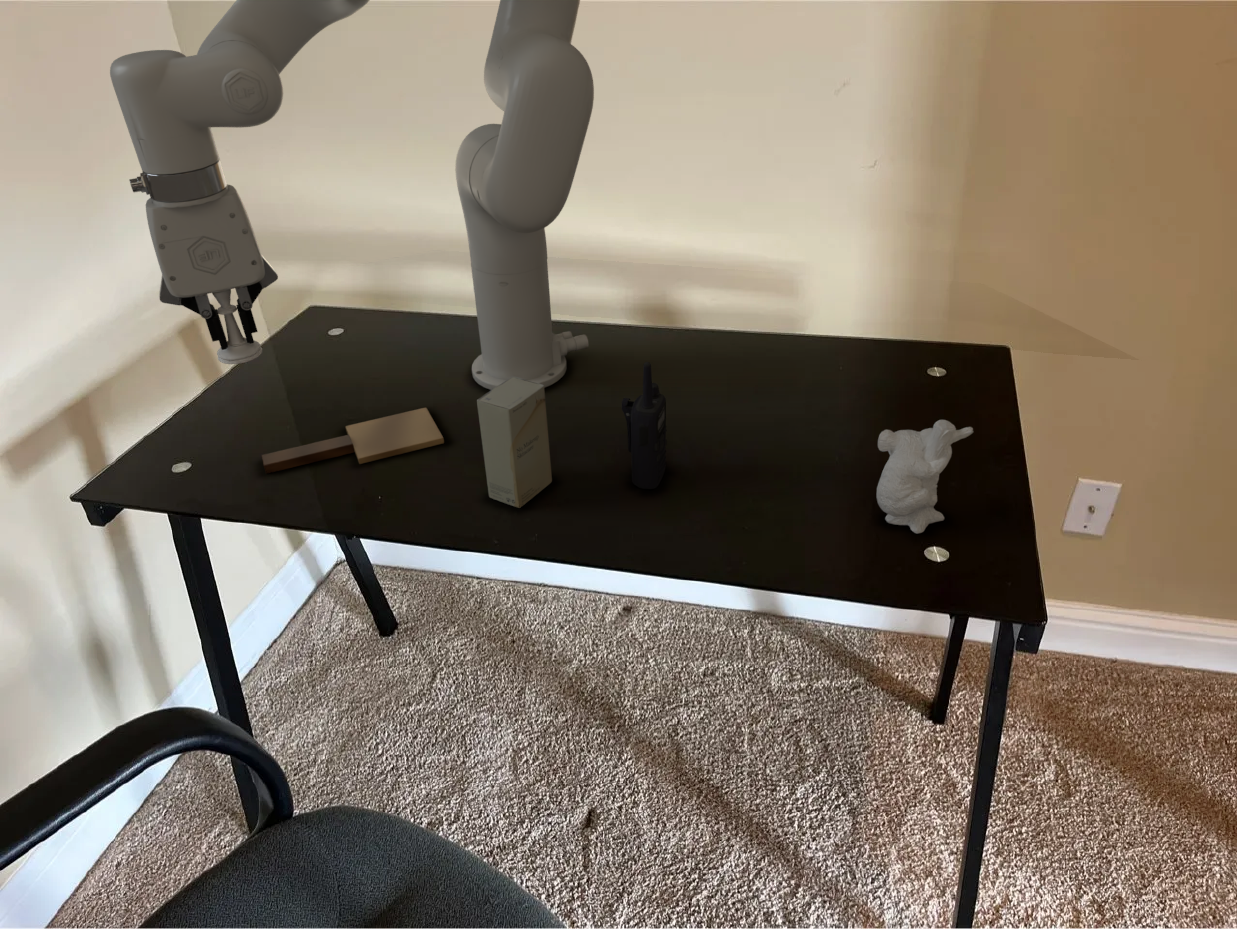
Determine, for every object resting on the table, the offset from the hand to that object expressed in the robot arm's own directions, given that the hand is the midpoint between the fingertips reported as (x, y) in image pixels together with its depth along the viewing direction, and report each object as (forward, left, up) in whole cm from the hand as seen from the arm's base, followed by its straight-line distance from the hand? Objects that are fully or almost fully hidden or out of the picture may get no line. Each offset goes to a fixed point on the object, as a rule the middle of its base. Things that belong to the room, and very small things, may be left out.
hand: (236, 340), depth 105 cm
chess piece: (0, 0, -2) cm, 2 cm away
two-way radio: (-37, +30, -12) cm, 49 cm away
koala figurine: (-58, +49, -12) cm, 77 cm away
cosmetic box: (-24, +26, -12) cm, 38 cm away
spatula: (-9, +9, -12) cm, 18 cm away
